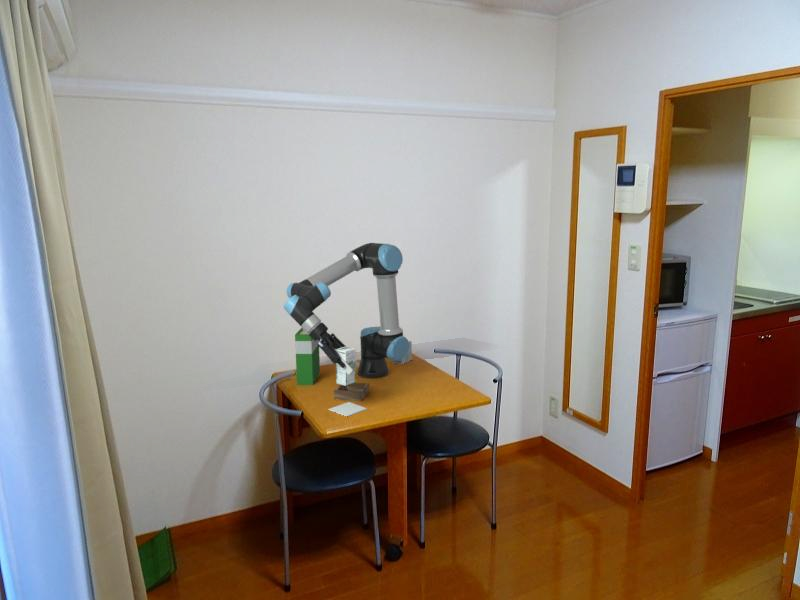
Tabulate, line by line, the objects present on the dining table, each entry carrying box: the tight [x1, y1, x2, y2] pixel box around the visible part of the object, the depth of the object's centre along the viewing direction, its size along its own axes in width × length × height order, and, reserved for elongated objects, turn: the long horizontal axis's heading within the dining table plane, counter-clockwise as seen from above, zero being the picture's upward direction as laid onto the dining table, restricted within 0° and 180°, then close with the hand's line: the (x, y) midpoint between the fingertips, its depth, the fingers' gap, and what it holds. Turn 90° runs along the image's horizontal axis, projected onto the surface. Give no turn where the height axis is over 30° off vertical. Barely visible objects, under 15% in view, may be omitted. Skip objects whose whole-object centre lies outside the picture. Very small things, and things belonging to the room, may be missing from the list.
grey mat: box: [328, 401, 368, 418], centre depth 233 cm, size 11×11×1 cm
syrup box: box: [335, 346, 357, 386], centre depth 230 cm, size 6×6×14 cm
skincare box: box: [391, 340, 413, 365], centre depth 298 cm, size 10×6×10 cm, turn 147°
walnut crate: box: [333, 382, 370, 403], centre depth 249 cm, size 12×12×4 cm
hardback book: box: [294, 327, 321, 386], centre depth 270 cm, size 18×7×24 cm, turn 177°
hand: (354, 369), depth 229 cm, fingers closed on syrup box, 7 cm apart
